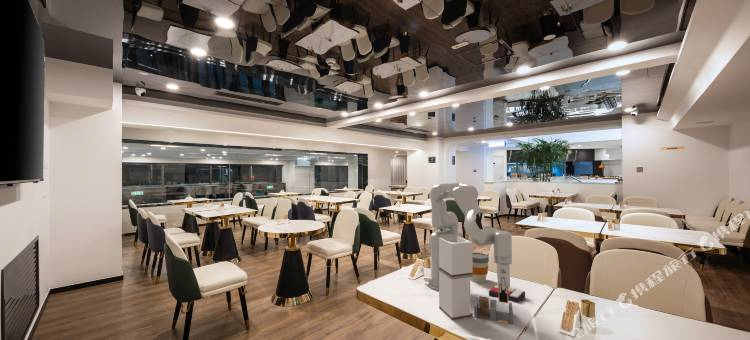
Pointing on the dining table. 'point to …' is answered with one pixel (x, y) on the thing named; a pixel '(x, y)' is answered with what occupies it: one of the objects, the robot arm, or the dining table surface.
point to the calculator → (509, 294)
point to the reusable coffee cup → (480, 267)
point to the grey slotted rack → (495, 313)
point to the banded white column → (455, 277)
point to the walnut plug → (483, 306)
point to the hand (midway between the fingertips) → (503, 299)
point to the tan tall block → (499, 291)
